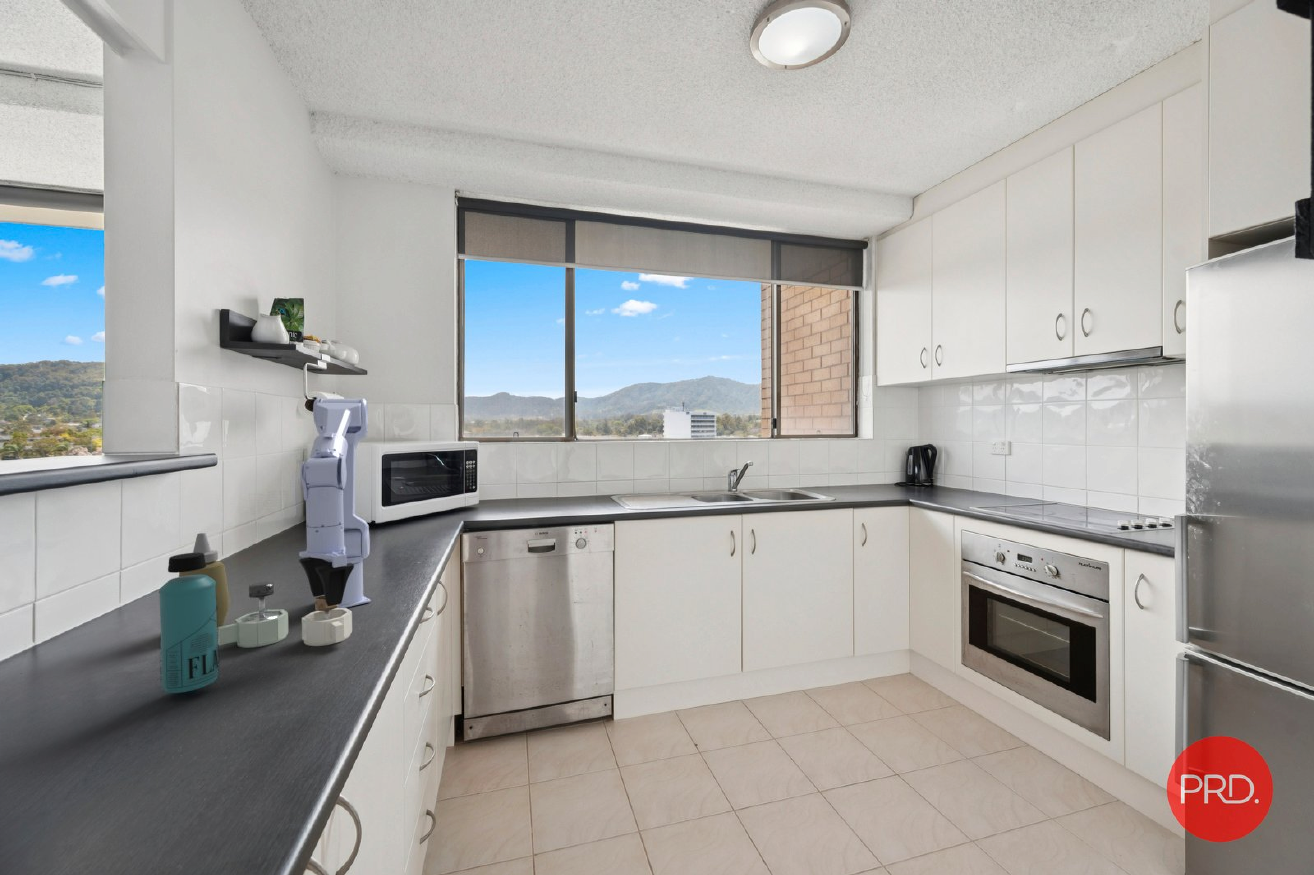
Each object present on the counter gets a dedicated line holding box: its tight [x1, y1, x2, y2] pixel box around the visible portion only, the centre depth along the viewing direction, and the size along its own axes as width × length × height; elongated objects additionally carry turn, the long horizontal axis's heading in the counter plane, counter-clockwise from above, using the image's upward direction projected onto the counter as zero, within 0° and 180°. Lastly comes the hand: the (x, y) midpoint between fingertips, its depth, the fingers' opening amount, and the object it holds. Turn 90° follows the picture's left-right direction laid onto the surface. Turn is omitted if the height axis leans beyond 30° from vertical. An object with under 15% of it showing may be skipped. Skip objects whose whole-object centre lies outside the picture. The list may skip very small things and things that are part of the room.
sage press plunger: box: [245, 581, 279, 622], centre depth 98 cm, size 5×5×6 cm
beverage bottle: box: [158, 552, 220, 694], centre depth 79 cm, size 6×7×20 cm
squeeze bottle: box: [178, 532, 231, 629], centre depth 104 cm, size 8×8×18 cm
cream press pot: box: [301, 607, 353, 647], centre depth 98 cm, size 10×7×4 cm
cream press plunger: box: [314, 595, 339, 620], centre depth 99 cm, size 5×5×6 cm
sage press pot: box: [217, 608, 289, 649], centre depth 98 cm, size 10×7×4 cm
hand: (327, 599), depth 99 cm, fingers open, 7 cm apart
